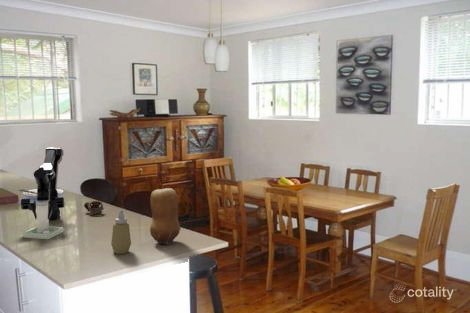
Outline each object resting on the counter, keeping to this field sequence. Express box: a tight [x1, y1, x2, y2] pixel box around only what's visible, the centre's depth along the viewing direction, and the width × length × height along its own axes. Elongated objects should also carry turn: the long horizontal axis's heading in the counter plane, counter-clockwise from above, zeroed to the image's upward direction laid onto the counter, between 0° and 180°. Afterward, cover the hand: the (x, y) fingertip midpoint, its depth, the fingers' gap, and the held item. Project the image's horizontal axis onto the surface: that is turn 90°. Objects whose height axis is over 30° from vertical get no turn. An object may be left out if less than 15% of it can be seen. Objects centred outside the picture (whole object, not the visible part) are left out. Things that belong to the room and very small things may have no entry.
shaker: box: [35, 201, 50, 233], centre depth 208 cm, size 5×5×14 cm
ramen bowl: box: [18, 188, 64, 201], centre depth 273 cm, size 25×23×8 cm
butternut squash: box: [149, 187, 182, 245], centre depth 199 cm, size 14×13×25 cm
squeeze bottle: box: [110, 209, 132, 255], centre depth 186 cm, size 8×8×18 cm
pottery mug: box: [83, 200, 105, 216], centre depth 251 cm, size 12×10×8 cm
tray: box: [22, 226, 64, 240], centre depth 207 cm, size 13×13×3 cm
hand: (42, 218), depth 206 cm, fingers closed on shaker, 5 cm apart
